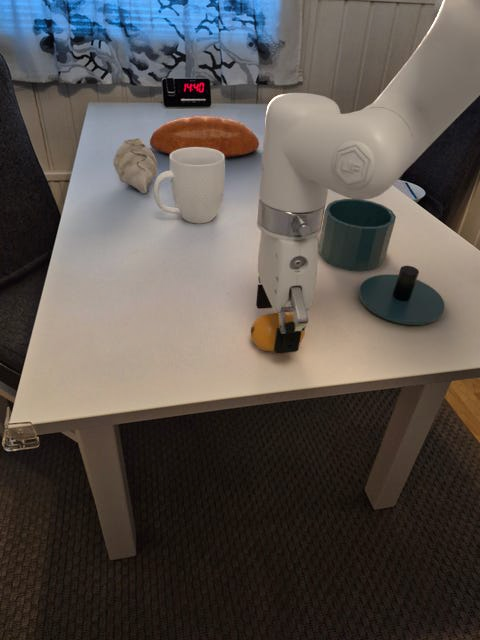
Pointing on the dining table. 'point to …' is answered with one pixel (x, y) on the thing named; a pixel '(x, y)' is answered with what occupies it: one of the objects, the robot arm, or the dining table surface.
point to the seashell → (135, 164)
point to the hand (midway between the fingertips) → (275, 327)
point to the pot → (356, 234)
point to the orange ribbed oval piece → (268, 330)
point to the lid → (402, 298)
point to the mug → (194, 183)
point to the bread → (205, 135)
